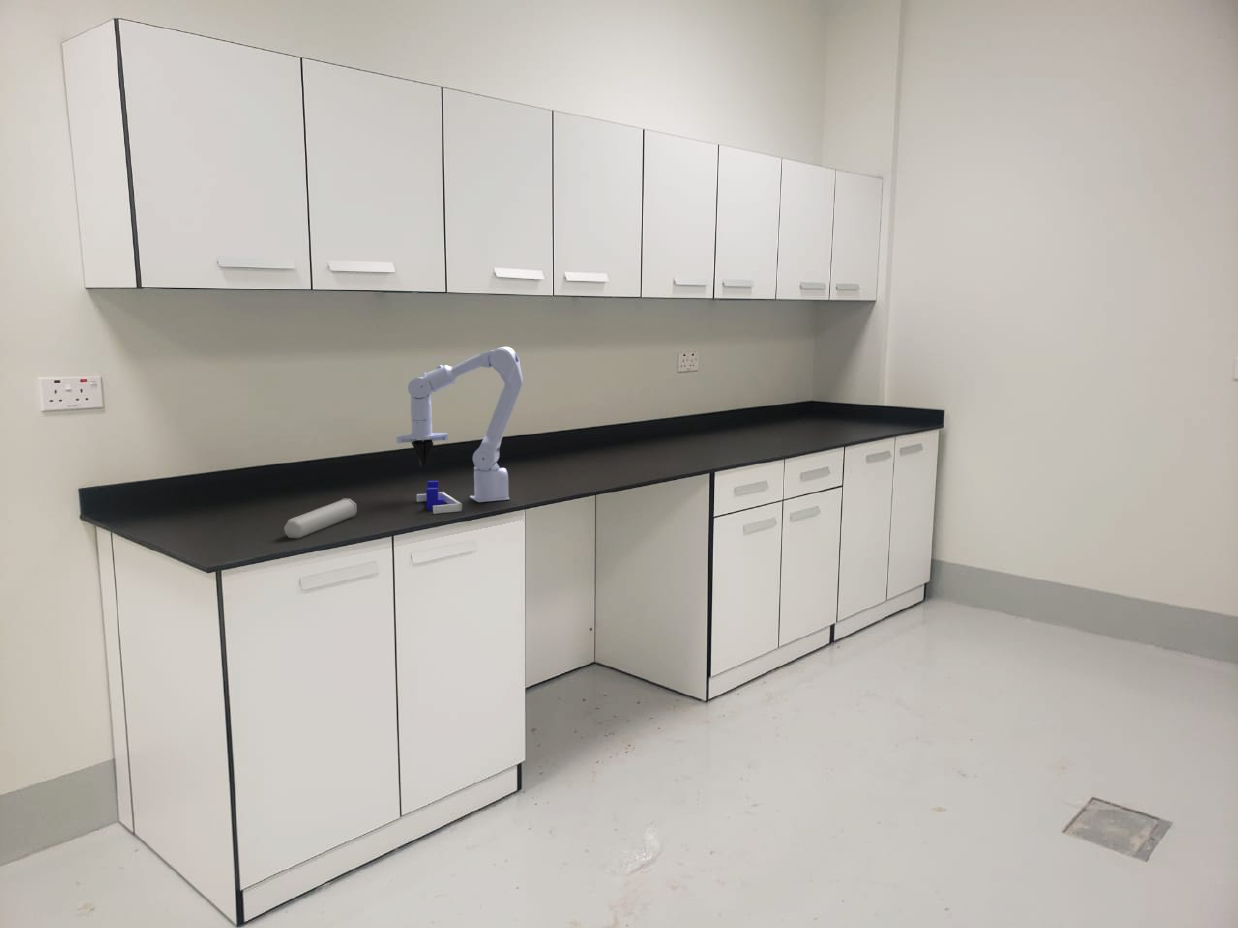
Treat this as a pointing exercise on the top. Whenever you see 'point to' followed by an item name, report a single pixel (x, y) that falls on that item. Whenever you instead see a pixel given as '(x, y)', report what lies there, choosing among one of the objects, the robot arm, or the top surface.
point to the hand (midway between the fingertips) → (423, 466)
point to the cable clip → (433, 495)
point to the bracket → (450, 507)
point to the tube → (320, 518)
